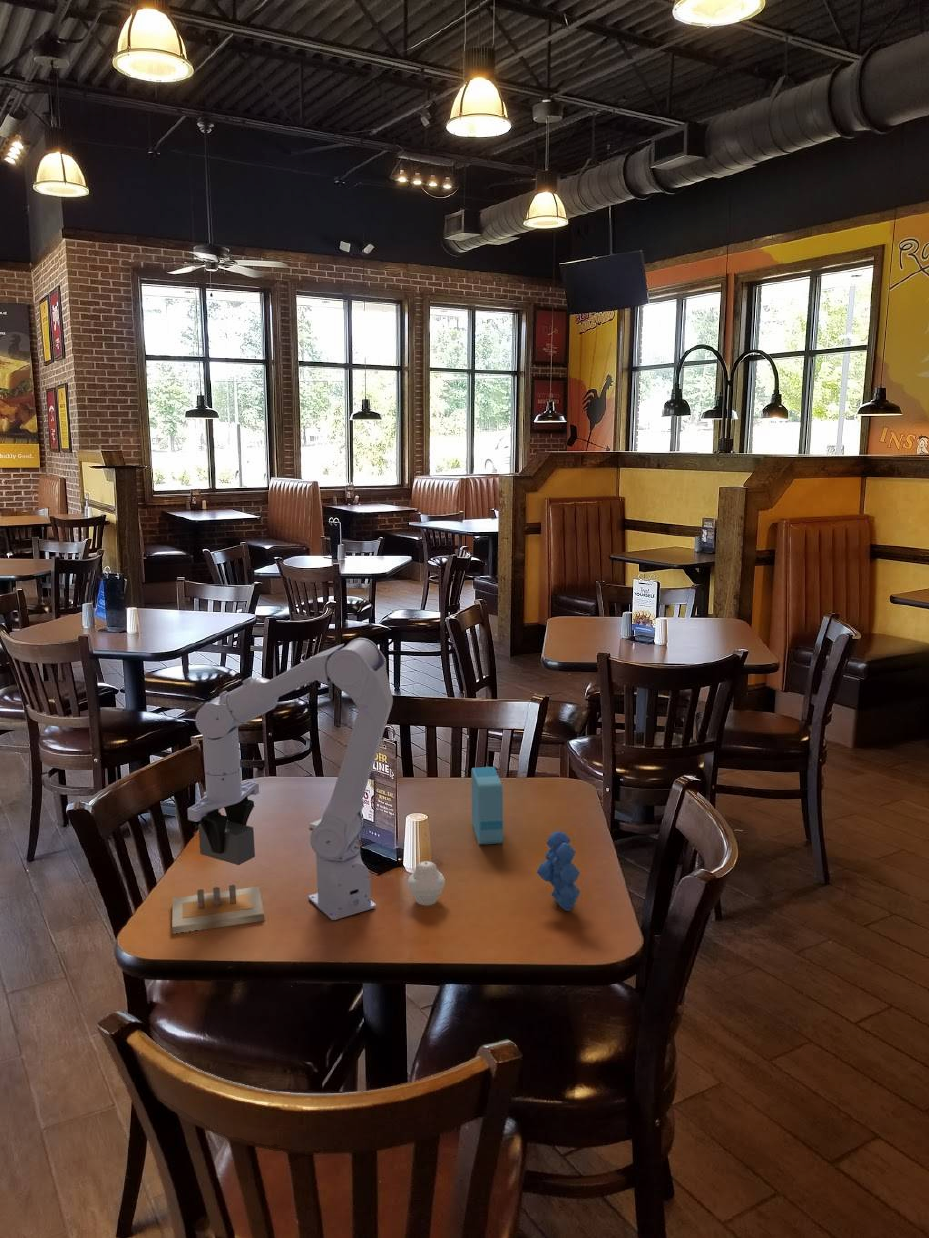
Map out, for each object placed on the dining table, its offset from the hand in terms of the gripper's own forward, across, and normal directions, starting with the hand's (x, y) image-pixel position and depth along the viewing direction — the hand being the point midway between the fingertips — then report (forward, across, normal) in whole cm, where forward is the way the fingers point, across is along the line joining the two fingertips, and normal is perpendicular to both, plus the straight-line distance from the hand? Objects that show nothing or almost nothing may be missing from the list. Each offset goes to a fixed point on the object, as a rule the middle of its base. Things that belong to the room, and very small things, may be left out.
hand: (227, 847), depth 159 cm
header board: (+8, +6, +3) cm, 11 cm away
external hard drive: (+9, -34, -2) cm, 36 cm away
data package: (+9, -43, +26) cm, 51 cm away
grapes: (+9, -24, +50) cm, 56 cm away
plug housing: (+2, 0, 0) cm, 2 cm away
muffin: (+9, -14, +30) cm, 35 cm away
